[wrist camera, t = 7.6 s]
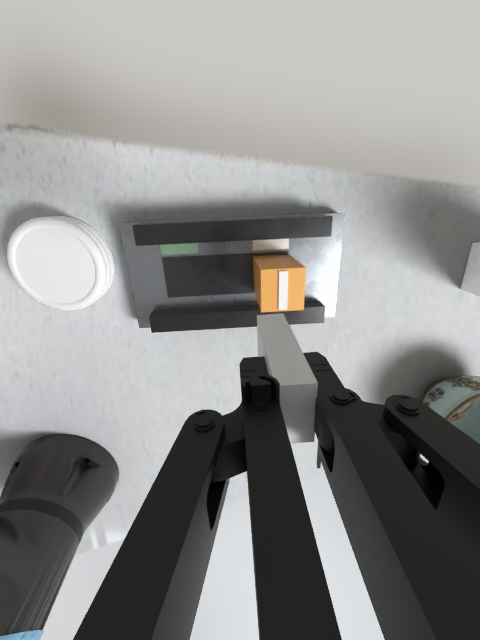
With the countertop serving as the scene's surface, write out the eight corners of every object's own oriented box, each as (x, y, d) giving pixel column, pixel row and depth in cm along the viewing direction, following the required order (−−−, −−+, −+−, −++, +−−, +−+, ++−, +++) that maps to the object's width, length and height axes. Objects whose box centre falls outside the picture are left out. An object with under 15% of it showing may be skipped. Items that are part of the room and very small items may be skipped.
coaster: (20, 283, 33) (-2, 291, 30) (33, 199, 30) (10, 199, 26) (105, 313, 35) (92, 324, 32) (125, 238, 32) (114, 242, 28)
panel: (143, 321, 35) (134, 335, 32) (124, 222, 31) (111, 224, 27) (328, 311, 36) (340, 323, 32) (337, 212, 32) (352, 213, 28)
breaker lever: (253, 290, 32) (261, 312, 26) (253, 256, 31) (260, 270, 24) (287, 289, 32) (304, 310, 26) (288, 254, 31) (306, 267, 24)
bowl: (444, 438, 46) (486, 483, 39) (381, 413, 43) (413, 456, 36) (505, 375, 42) (566, 412, 34) (439, 342, 39) (489, 375, 32)
